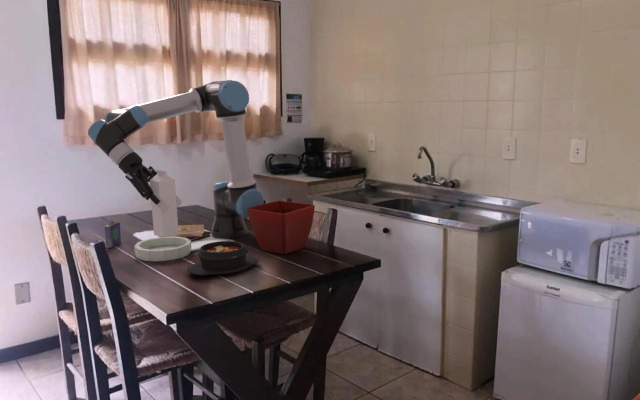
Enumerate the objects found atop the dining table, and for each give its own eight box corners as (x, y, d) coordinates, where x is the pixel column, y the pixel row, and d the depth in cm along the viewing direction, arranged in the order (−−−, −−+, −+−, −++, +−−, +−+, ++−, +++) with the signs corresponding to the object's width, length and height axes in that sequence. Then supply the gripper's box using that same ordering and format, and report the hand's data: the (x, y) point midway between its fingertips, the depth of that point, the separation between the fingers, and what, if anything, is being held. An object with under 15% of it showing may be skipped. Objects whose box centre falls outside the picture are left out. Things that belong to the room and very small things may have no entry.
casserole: (201, 285, 165) (200, 259, 164) (178, 270, 180) (176, 247, 178) (269, 269, 180) (268, 245, 179) (242, 257, 195) (241, 235, 193)
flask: (110, 248, 207) (108, 222, 205) (103, 248, 208) (101, 222, 206) (122, 242, 216) (120, 217, 214) (116, 242, 217) (113, 216, 215)
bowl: (194, 245, 210) (194, 235, 210) (185, 260, 191) (185, 249, 190) (143, 247, 209) (143, 237, 208) (129, 262, 189) (128, 251, 189)
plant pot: (247, 250, 203) (245, 207, 200) (280, 239, 218) (279, 199, 215) (284, 258, 192) (283, 213, 188) (316, 247, 206) (316, 205, 203)
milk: (163, 237, 175) (157, 172, 171) (153, 234, 179) (148, 170, 175) (179, 234, 180) (174, 170, 175) (169, 231, 184) (164, 168, 179)
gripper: (137, 162, 188) (181, 208, 188) (101, 171, 168) (150, 221, 168) (149, 148, 186) (194, 193, 185) (114, 154, 166) (164, 205, 166)
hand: (173, 207), depth 177 cm, fingers closed on milk, 8 cm apart
